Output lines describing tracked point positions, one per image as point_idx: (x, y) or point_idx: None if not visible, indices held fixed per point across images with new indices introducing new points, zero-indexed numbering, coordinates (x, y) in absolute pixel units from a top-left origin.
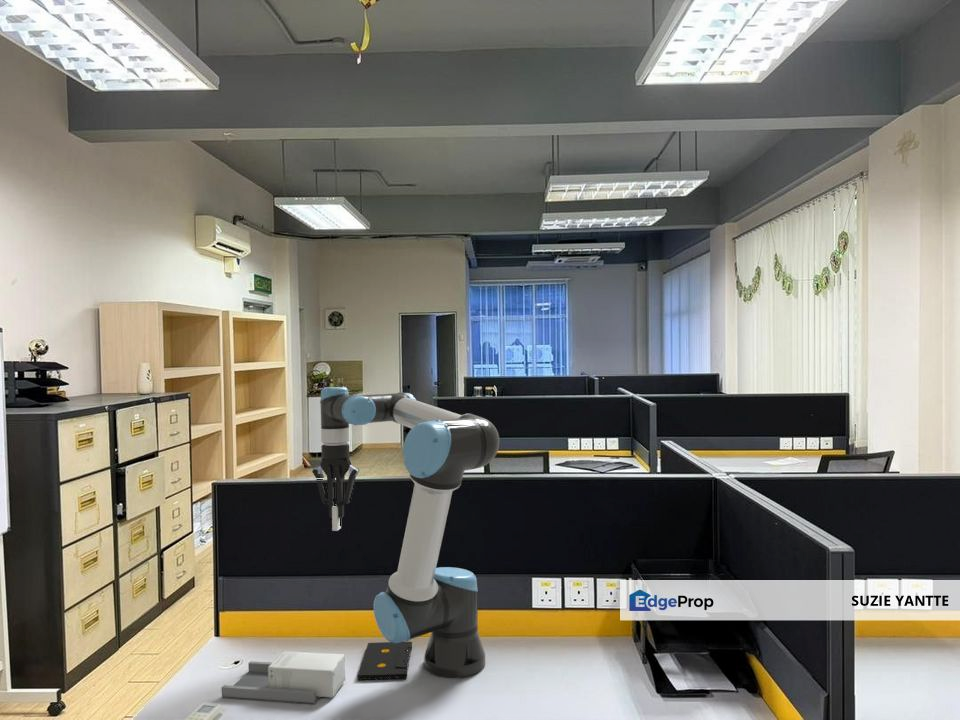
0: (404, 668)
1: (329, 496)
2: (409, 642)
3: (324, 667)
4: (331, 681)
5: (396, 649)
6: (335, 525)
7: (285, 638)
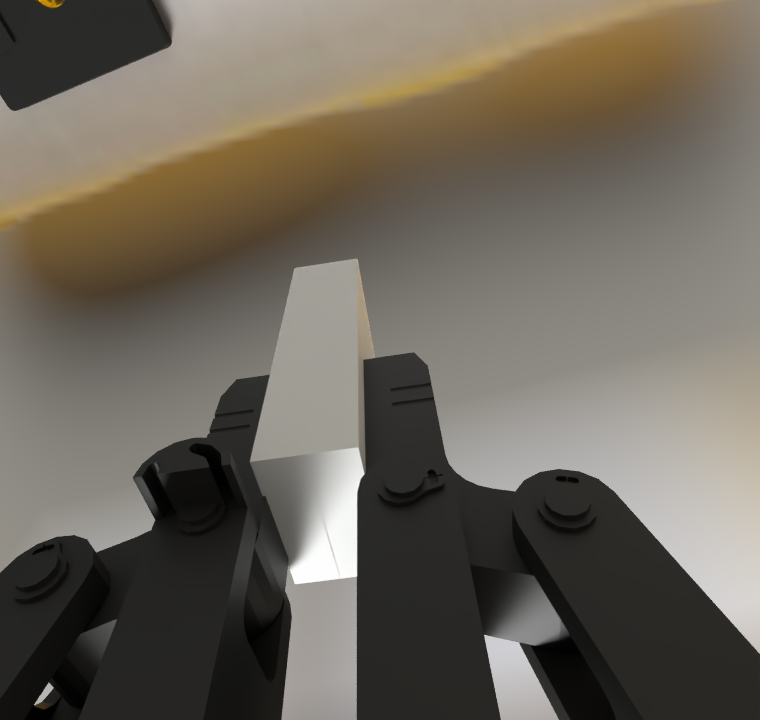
0: None
1: (439, 651)
2: (14, 100)
3: None
4: None
5: (12, 13)
6: (314, 292)
7: (553, 31)
